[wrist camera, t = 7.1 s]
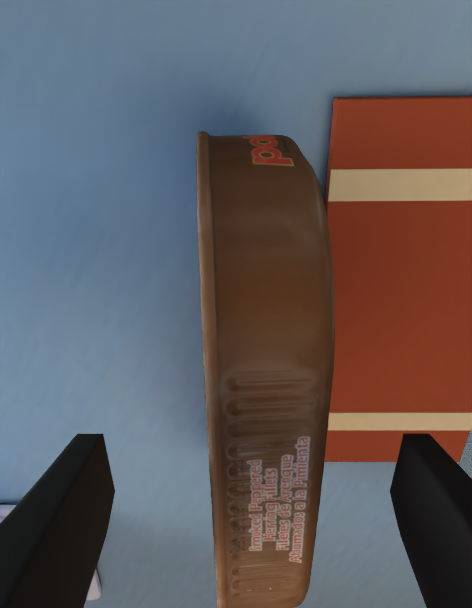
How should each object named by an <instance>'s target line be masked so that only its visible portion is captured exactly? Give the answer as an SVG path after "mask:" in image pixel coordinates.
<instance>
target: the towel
mask: <svg viewBox="0 0 472 608" xmlns="http://www.w3.org/2000/svg"><path fill="white" fill-rule="evenodd" d="M324 205H325V209H326V215H327V221H328V226H329V232H330V239H331V250H332V261H333V272H334V284H335V352H334V371H333V381H332V391H331V401H330V410H329V420H328V431H327V439H326V450H325V459H324V462H397V459H398V455H399V450H400V446H401V442H402V438H403V434H405V433H429V434H430V435H431V436H432V437H433V438H434V439H435V440H436V441H437V442H438V443H439V444H440V445H441V447H442V448H443V449H444V450H445V451H446V452H447V453H448V454H449V455H450V456H451V457H452V458H453V460H454V461H455V462H459V461H460V459H461V456H462V453H463V450H464V447H465V444H466V441H467V438H468V435H469V432H470V430H472V96H412V97H335V98H334V101H333V113H332V124H331V135H330V147H329V158H328V169H327V181H326V192H325V204H324Z"/></svg>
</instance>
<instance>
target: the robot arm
mask: <svg viewBox="0 0 472 608" xmlns="http://www.w3.org/2000/svg"><path fill="white" fill-rule="evenodd" d="M114 494H115V489H114V484H113V480H112V475H111V470H110V465H109V461H108V456H107V451H106V446H105V441H104V437H103V434H77V435H76V436H75V437H74V438H73V439H72V440H71V442H70V443H69V444H68V445H67V447H66V448H65V449H64V450H63V451H62V453H61V454H60V455H59V456H58V457H57V459H56V460H55V461H54V462H53V464H52V465H51V466H50V467H49V468H48V470H47V471H46V472H45V473H44V474H43V475H42V477H41V478H40V479H39V480H38V481H37V483H36V484H35V485H34V486H33V487H32V488H31V489H30V491H29V492H28V493H27V494H26V495H25V496H24V497H23V498H22V500H21V501H20V502H19V503H18V504H17V505H0V608H83V607H84V604H85V601H86V600H96V599H98V598H99V597H100V596H101V592H102V589H101V585H100V581H99V578H98V574H97V570H96V566H97V563H98V560H99V557H100V554H101V550H102V547H103V544H104V541H105V537H106V534H107V529H108V524H109V520H110V515H111V509H112V504H113V499H114ZM390 494H391V498H392V502H393V507H394V511H395V515H396V519H397V523H398V527H399V531H400V535H401V538H402V541H403V544H404V547H405V549H406V552H407V555H408V558H409V560H410V563H411V566H412V569H413V572H414V574H415V577H416V580H417V582H418V585H419V588H420V591H421V593H422V596H423V599H424V601H425V604H426V607H427V608H472V479H471V478H470V477H469V476H468V475H467V473H466V472H465V471H464V470H463V469H462V468H461V467H460V466H459V465H458V464H457V463H456V462H455V461H454V460H453V458H452V457H451V456H450V455H449V454H448V453H447V452H446V451H445V450H444V449H443V448H442V447H441V445H440V444H439V443H438V442H437V441H436V440H435V439H434V438H433V437H432V436H431V435H430V434H429V433H405V434H403V438H402V442H401V446H400V450H399V455H398V459H397V463H396V468H395V472H394V476H393V480H392V485H391V489H390Z"/></svg>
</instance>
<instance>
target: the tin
mask: <svg viewBox="0 0 472 608" xmlns="http://www.w3.org/2000/svg"><path fill="white" fill-rule="evenodd" d="M197 200H198V208H197V219H198V241H199V267H200V293H201V315H202V334H203V357H204V366H203V368H204V371H205V401H206V412H207V434H208V448H209V471H210V484H211V498H212V501H211V502H212V520H213V536H214V556H215V570H216V592H217V608H293V607H296V606H299V605H300V604H301V603H302V602H303V600H304V598H305V596H306V594H307V591H308V588H309V582H310V575H311V568H312V560H313V553H314V545H315V538H316V528H317V521H318V512H319V505H320V495H321V485H322V477H323V469H324V459H325V450H326V439H327V431H328V420H329V410H330V401H331V391H332V381H333V371H334V352H335V284H334V272H333V261H332V250H331V239H330V232H329V226H328V221H327V215H326V209H325V205H324V200H323V196H322V192H321V188H320V184H319V181H318V179H317V177H316V174H315V172H314V170H313V168H312V167H311V165H310V164H309V163H308V161H307V160H306V159H305V157H304V156H303V154H302V153H301V151H300V149H299V147H298V146H297V144H296V143H295V142H294V141H293V140H292V139H291V138H289V137H287V136H283V135H242V136H211V135H209V134H208V133H207V132H204V131H201V132H198V133H197Z"/></svg>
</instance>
